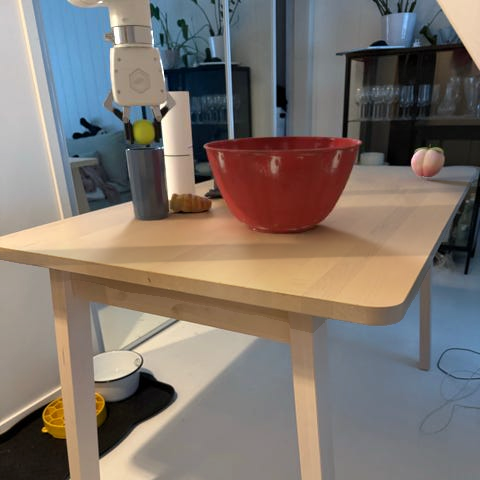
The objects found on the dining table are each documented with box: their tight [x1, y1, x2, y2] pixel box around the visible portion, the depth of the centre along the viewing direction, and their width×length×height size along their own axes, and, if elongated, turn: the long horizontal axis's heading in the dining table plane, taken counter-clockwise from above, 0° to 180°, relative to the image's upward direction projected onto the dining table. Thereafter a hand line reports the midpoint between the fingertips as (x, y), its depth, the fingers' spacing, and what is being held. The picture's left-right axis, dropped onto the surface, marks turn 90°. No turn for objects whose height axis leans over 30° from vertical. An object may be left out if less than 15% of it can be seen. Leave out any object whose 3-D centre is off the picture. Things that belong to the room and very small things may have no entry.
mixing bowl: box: [203, 135, 363, 234], centre depth 87 cm, size 28×28×15 cm
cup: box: [125, 146, 171, 221], centre depth 98 cm, size 8×8×14 cm
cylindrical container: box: [159, 90, 197, 201], centre depth 115 cm, size 7×7×25 cm
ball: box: [132, 118, 155, 147], centre depth 94 cm, size 5×5×5 cm
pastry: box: [169, 193, 213, 213], centre depth 105 cm, size 9×7×4 cm
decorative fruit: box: [410, 143, 446, 178], centre depth 136 cm, size 9×8×10 cm
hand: (144, 142), depth 95 cm, fingers closed on ball, 4 cm apart
